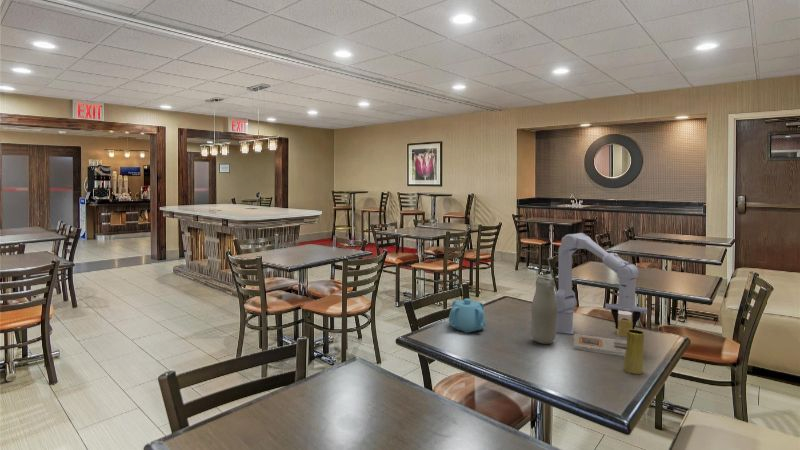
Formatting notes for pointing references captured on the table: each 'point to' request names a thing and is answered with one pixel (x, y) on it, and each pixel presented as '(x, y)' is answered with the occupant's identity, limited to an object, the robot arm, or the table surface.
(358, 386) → the table surface
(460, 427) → the table surface
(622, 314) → the smoothie
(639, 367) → the vase
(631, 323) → the brass nut
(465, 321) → the decorative pot
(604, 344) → the panel
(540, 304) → the glass bottle
